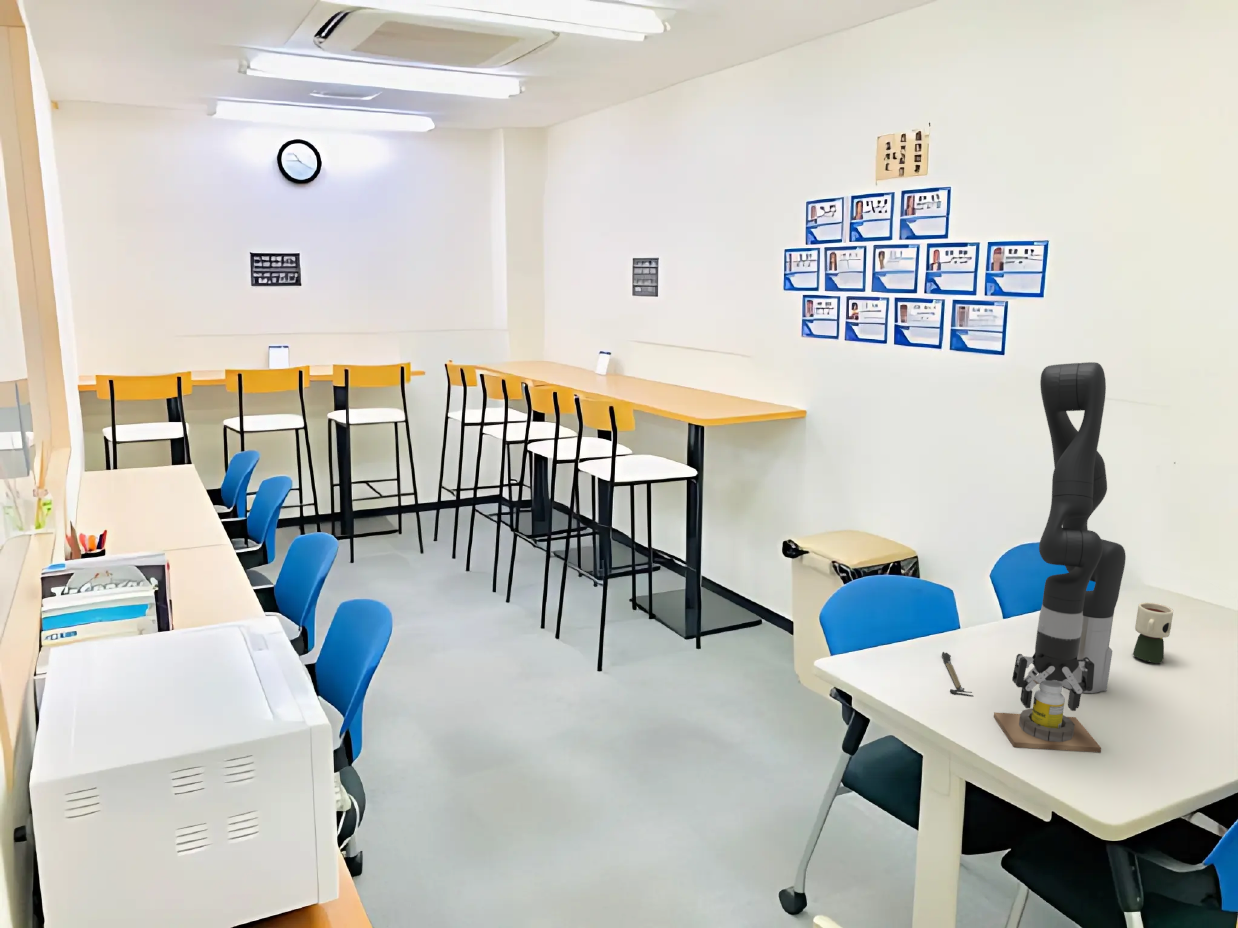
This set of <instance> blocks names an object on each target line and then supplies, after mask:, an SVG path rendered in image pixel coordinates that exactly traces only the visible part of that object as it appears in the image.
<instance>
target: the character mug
mask: <svg viewBox="0 0 1238 928" xmlns="http://www.w3.org/2000/svg"><path fill="white" fill-rule="evenodd" d="M1136 612H1137V613H1136V619H1135V626H1134V630H1135V631H1136V632H1137V633H1139V635H1138V636H1137V640H1136V641H1135V645H1134V648H1133V652H1132V655H1133V656H1134V657H1136V658H1137V659H1140V660H1144V661H1145V662H1147V663H1148V662H1150V663H1153V664H1155V663H1156V664H1159V663H1163V661H1164V655H1165V649H1164V648H1165V645H1164V644H1165V641H1164V638H1168V637H1170V633H1171V629H1172V622H1173V617H1174V610H1173V608H1171V607H1169V606H1167V605H1164V604H1160V603H1155V602H1140V603H1139V604H1138V607H1137V611H1136Z"/></svg>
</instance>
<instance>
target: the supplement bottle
mask: <svg viewBox="0 0 1238 928" xmlns="http://www.w3.org/2000/svg"><path fill="white" fill-rule="evenodd" d="M1038 685H1039V686H1038V687H1039V689H1037V690H1036V691H1034V694H1033V704H1032V708H1033V709H1032V718H1031V721H1032V722H1034V723H1036V724H1038V725H1040V726H1044V727H1047V728H1061V725H1062V717H1063V715H1064V709H1065V708H1064V707H1065V696H1064V695H1063V694H1062V692H1063V686H1062V684H1061V683H1060V682H1059V681H1057V680H1052V681H1046V679H1044V680H1043V681H1042V682H1041V683H1040V684H1038Z"/></svg>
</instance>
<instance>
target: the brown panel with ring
mask: <svg viewBox="0 0 1238 928" xmlns="http://www.w3.org/2000/svg"><path fill="white" fill-rule="evenodd" d="M1032 709H1033V707H1032V708H1031V707H1030V708H1026V709H1023V710H1021V713H1014V712H1013V713H1010V712H1008V713H1007V712H993V718H994V720H995V721H996V723H997V725H999V727H1000V728H1001V730H1002V732H1003V733H1004V735H1005V736H1006V737H1007V739H1008V740H1009V743H1010V744H1011V746H1012V747H1013V748H1020V749H1021V748H1023V749H1038V750H1040V749H1041V750H1052V751H1053V750H1055V751H1056V750H1057V751H1072V752H1073V751H1074V752H1088V753H1101V751H1102V746H1101V745H1100V744H1099V743H1098V742H1097V741H1096V739H1095V738H1094V737H1093V736H1092V735H1091V733H1089V731H1088V730H1087V729H1086V727H1085V726H1084V725H1083V724H1082V723H1081V722H1080V720H1079V719H1078V718H1077V717H1075V716H1066V715H1064V714H1063V717H1062V725H1061V728H1047V727H1044V726H1040V725H1038V724H1036V723H1034V722H1032V721H1031V718H1032Z"/></svg>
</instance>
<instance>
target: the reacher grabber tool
mask: <svg viewBox="0 0 1238 928" xmlns="http://www.w3.org/2000/svg"><path fill="white" fill-rule="evenodd" d="M941 656H942V660H943V664H944V666H945V669H946V670H947V672H948V675H949V677H950V679H951V681H952V683H953V685H954V687H955V689H952V688H950V690H949V692H950V694H951V695H953V696H955V695H958V696H963V697H964V696H965V697H971V698H972V697H974V695H973V694H971V693H973V692H972V691H965V688H964V687H962V684H961V683H960V679H959V677H958V674H957V673H956V671H955V669H954V665H953V664H952V662H951V657H952V656H951V654H950V653H948V652H945V651H942V653H941ZM968 693H969V694H968Z"/></svg>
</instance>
